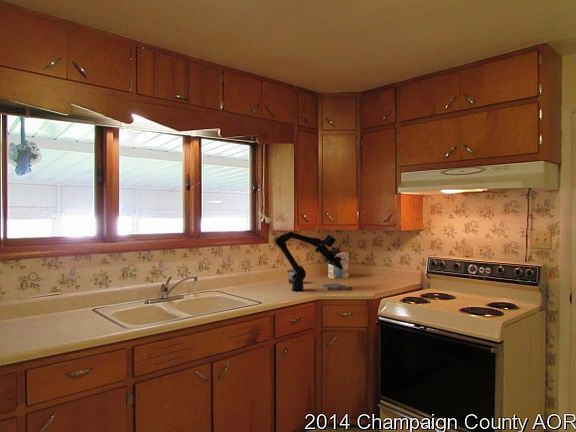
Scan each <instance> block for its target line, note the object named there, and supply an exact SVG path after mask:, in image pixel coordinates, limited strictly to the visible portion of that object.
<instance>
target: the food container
mask: <svg viewBox="0 0 576 432" xmlns="http://www.w3.org/2000/svg"><path fill="white" fill-rule="evenodd" d="M286 273H287V279H288V284H289V285H292V281H293V280H292V278H291V277H292V276H293V275H294V271H293V268H289V269H287V271H286Z"/></svg>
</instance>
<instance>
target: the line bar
mask: <svg viewBox="0 0 576 432" xmlns="http://www.w3.org/2000/svg"><path fill="white" fill-rule="evenodd" d="M326 291H328V292H330V291H331V292H332V291H334V292H335V291H353V287H352V286H346V287H326Z"/></svg>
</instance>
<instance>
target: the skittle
mask: <svg viewBox="0 0 576 432" xmlns="http://www.w3.org/2000/svg"><path fill="white" fill-rule="evenodd" d="M340 264H341V265H342V267H343V263H340ZM335 278H337V279H339V280H340V279H344V278H343V269H340V268H338V267H336V266H335Z"/></svg>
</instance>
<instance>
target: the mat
mask: <svg viewBox="0 0 576 432" xmlns="http://www.w3.org/2000/svg"><path fill="white" fill-rule="evenodd" d="M321 286H322V287H324V288H327V287H347V285H345V284H341V283H337V282H334V283H333V282H331V283H324V284H321Z"/></svg>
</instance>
